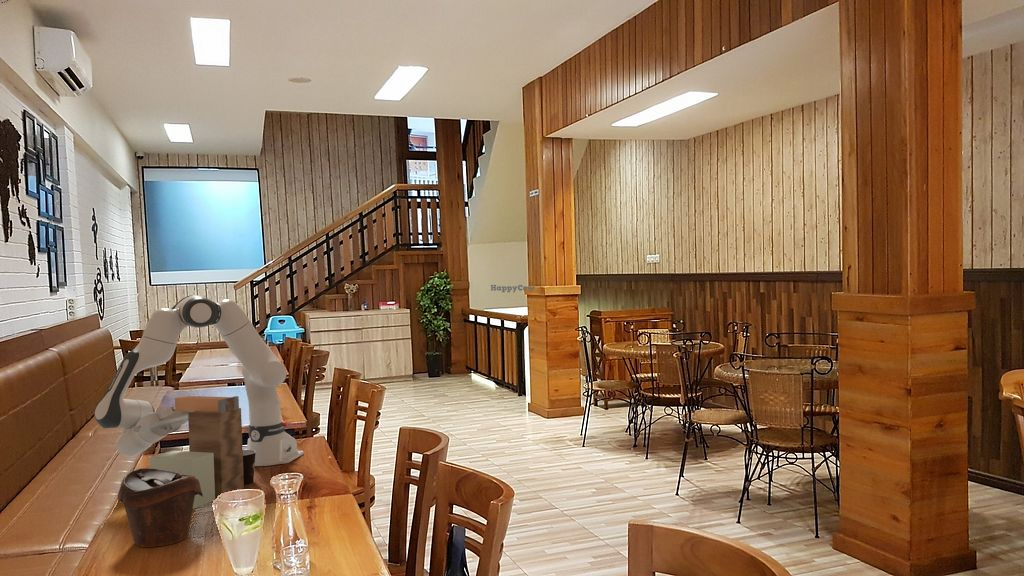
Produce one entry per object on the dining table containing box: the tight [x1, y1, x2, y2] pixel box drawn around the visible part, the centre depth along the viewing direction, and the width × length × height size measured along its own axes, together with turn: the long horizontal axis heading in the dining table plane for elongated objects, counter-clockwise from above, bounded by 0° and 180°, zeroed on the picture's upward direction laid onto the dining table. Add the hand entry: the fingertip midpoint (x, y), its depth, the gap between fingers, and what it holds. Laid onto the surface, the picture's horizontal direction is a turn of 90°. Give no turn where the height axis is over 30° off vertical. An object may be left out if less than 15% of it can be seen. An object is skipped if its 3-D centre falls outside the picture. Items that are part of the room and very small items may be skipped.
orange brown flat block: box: [174, 395, 240, 413], centre depth 231 cm, size 8×20×4 cm, turn 71°
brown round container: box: [117, 467, 203, 548], centre depth 188 cm, size 18×20×18 cm
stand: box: [187, 407, 245, 498], centre depth 230 cm, size 10×12×26 cm
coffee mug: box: [243, 449, 256, 486], centre depth 242 cm, size 12×9×10 cm
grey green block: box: [148, 449, 216, 510], centre depth 220 cm, size 9×16×14 cm, turn 71°
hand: (183, 406), depth 234 cm, fingers open, 8 cm apart
